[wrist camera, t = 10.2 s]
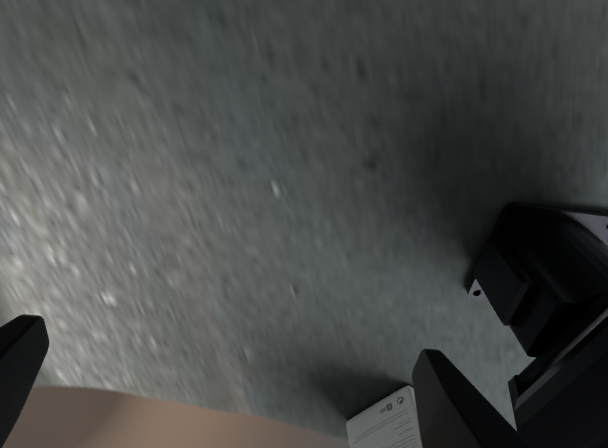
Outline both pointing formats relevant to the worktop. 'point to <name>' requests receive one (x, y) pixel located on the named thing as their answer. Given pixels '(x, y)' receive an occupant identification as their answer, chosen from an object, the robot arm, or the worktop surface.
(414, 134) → the worktop surface
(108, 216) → the worktop surface
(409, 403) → the skincare box
